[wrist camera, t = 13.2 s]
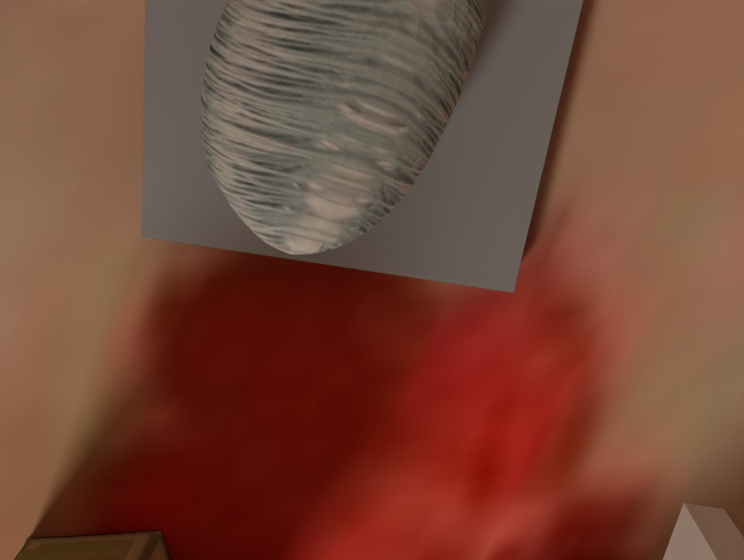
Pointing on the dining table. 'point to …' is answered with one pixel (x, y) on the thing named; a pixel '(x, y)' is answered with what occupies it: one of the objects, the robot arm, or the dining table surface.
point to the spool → (330, 109)
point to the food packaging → (97, 547)
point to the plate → (431, 188)
